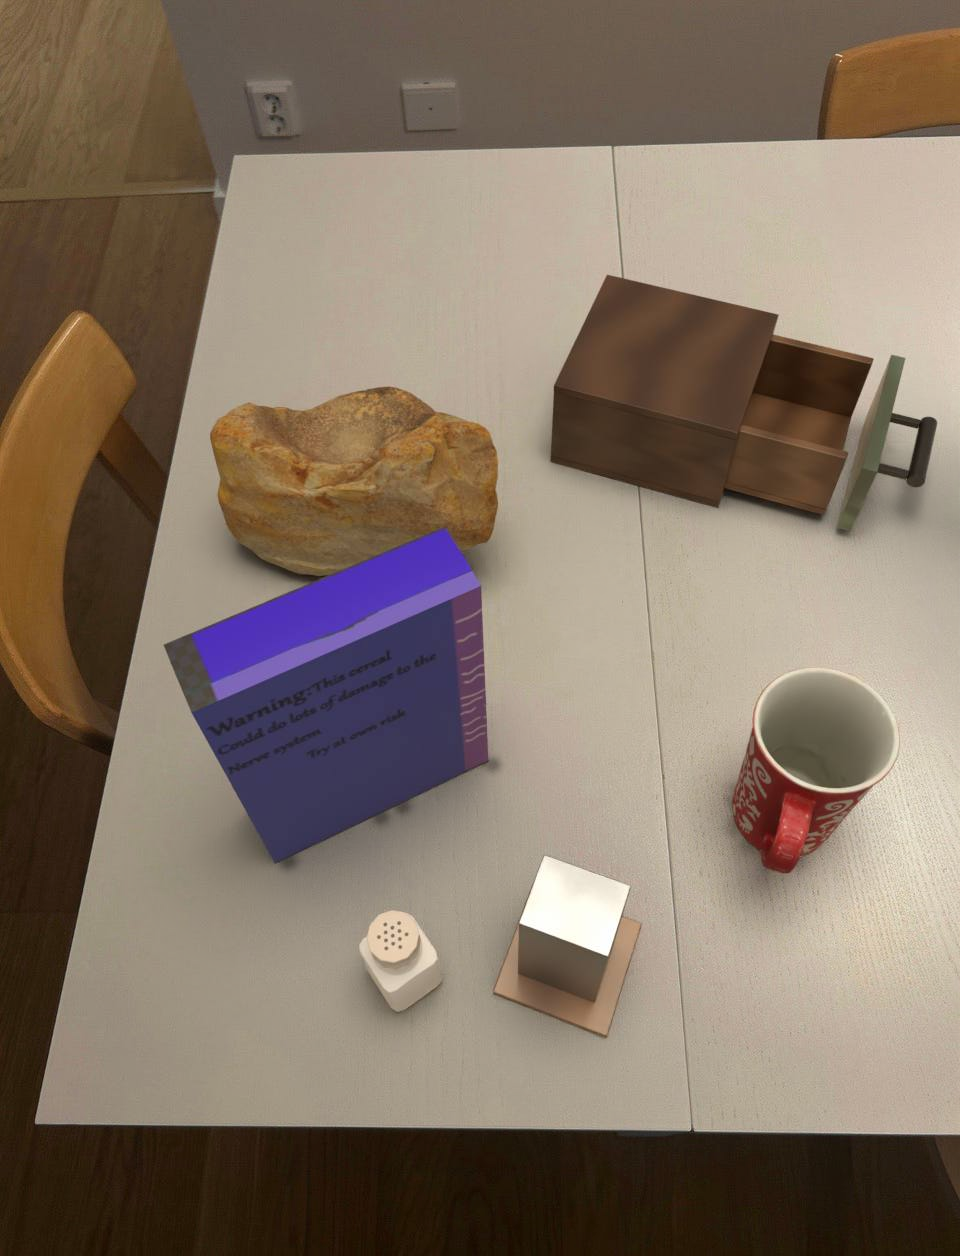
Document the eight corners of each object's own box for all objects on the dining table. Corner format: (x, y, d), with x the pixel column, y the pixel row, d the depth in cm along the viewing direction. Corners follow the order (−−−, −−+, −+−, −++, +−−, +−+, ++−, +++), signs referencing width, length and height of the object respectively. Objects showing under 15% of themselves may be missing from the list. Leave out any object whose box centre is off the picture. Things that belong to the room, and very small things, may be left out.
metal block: (615, 939, 73) (631, 885, 63) (595, 1003, 71) (608, 957, 61) (539, 911, 74) (543, 854, 64) (517, 973, 72) (518, 923, 62)
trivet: (641, 924, 74) (641, 922, 74) (606, 1037, 70) (606, 1036, 70) (532, 885, 76) (533, 883, 75) (493, 993, 72) (492, 991, 71)
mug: (740, 736, 81) (778, 645, 70) (857, 782, 79) (916, 696, 68) (684, 881, 76) (715, 808, 64) (809, 936, 73) (864, 870, 62)
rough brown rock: (526, 467, 97) (525, 332, 85) (493, 608, 87) (487, 478, 76) (284, 441, 101) (251, 308, 89) (226, 574, 91) (180, 444, 79)
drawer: (925, 433, 96) (956, 369, 89) (900, 545, 89) (932, 485, 83) (723, 382, 100) (738, 318, 93) (685, 486, 93) (698, 425, 87)
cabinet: (757, 393, 100) (779, 314, 92) (718, 508, 93) (738, 433, 85) (599, 354, 104) (606, 274, 95) (550, 461, 96) (553, 385, 88)
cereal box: (460, 712, 83) (444, 524, 63) (488, 761, 81) (481, 583, 60) (251, 809, 79) (162, 642, 59) (275, 863, 77) (190, 710, 57)
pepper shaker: (365, 968, 73) (347, 928, 65) (414, 934, 74) (402, 890, 66) (397, 1017, 71) (382, 982, 63) (446, 982, 72) (438, 943, 64)
